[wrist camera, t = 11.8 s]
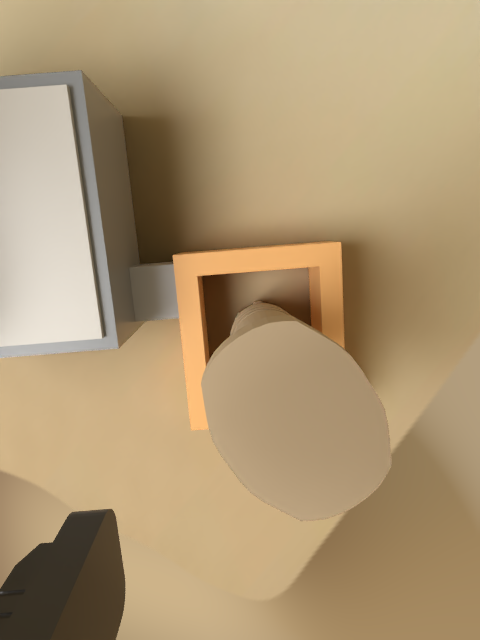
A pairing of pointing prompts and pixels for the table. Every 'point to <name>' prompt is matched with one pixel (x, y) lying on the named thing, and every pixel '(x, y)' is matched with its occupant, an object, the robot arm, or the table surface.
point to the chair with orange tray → (107, 238)
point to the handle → (295, 416)
